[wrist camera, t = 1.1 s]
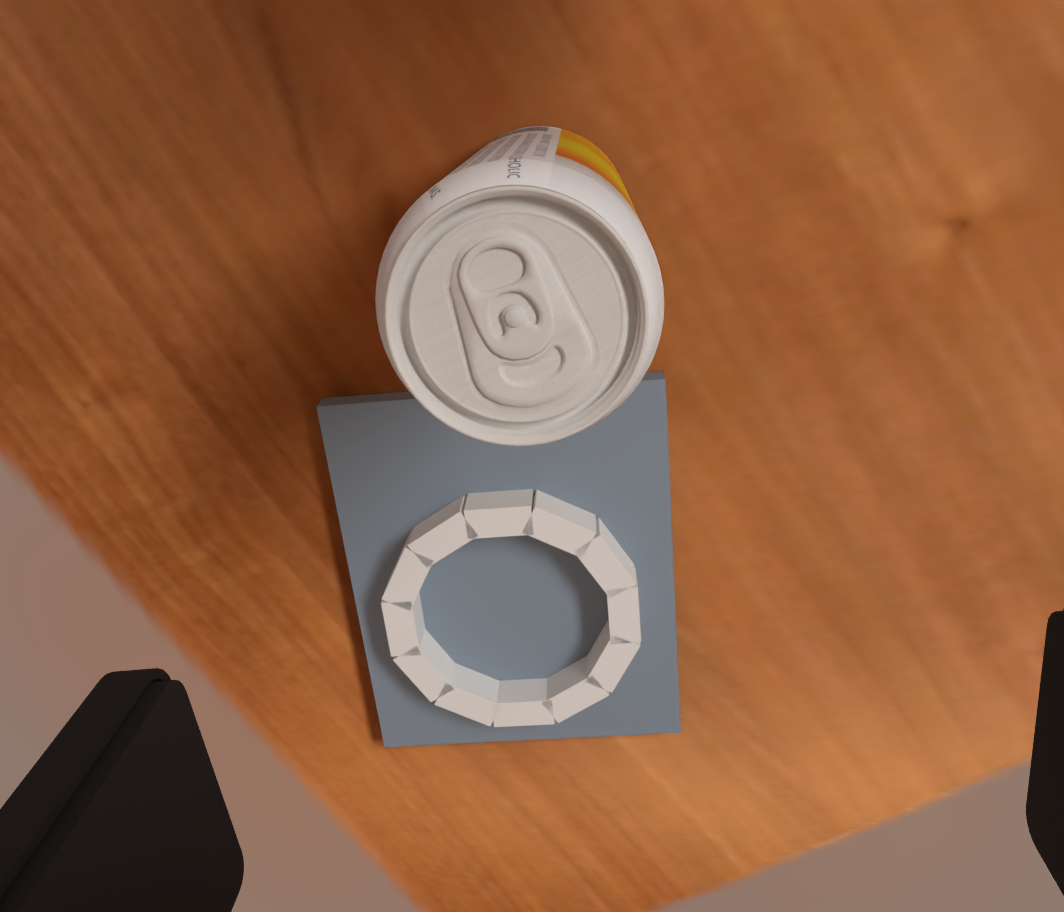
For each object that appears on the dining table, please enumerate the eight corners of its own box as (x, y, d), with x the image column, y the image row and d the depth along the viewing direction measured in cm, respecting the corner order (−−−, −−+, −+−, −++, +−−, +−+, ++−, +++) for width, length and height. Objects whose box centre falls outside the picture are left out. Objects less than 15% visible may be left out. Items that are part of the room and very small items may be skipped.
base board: (323, 398, 35) (305, 420, 32) (662, 370, 34) (669, 392, 31) (388, 732, 41) (377, 771, 39) (678, 717, 40) (684, 756, 38)
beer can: (492, 324, 33) (433, 499, 20) (428, 162, 31) (313, 230, 17) (649, 269, 32) (705, 412, 19) (595, 97, 30) (613, 114, 16)
